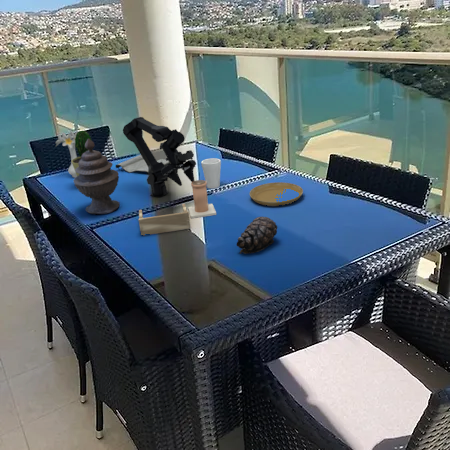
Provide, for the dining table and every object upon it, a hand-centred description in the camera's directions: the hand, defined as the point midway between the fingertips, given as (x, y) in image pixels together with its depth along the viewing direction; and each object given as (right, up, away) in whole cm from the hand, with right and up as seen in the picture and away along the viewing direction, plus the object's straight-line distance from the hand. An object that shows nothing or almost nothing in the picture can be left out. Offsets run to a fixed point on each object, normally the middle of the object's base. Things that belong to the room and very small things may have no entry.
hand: (187, 184), depth 214 cm
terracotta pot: (+6, -12, -4) cm, 14 cm away
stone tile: (+7, -13, -3) cm, 15 cm away
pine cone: (+29, -26, -37) cm, 54 cm away
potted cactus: (-54, +2, +41) cm, 68 cm away
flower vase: (-67, +10, +60) cm, 90 cm away
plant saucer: (+40, -6, +5) cm, 41 cm away
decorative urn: (-40, -11, +8) cm, 42 cm away
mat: (-30, +15, +65) cm, 73 cm away
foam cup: (+11, +1, +25) cm, 28 cm away
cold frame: (-9, -18, -12) cm, 23 cm away
